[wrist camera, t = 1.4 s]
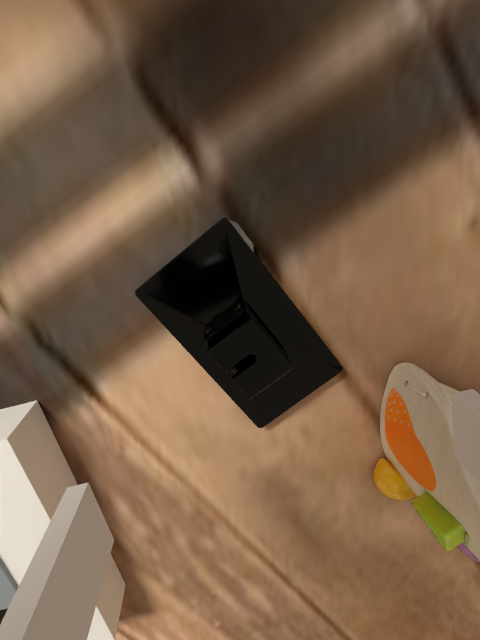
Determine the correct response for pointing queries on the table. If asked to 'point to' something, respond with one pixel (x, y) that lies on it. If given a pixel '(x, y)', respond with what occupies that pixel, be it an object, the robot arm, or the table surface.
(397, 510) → the table surface
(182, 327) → the black stand
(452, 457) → the shape sorter
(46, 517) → the plinth
